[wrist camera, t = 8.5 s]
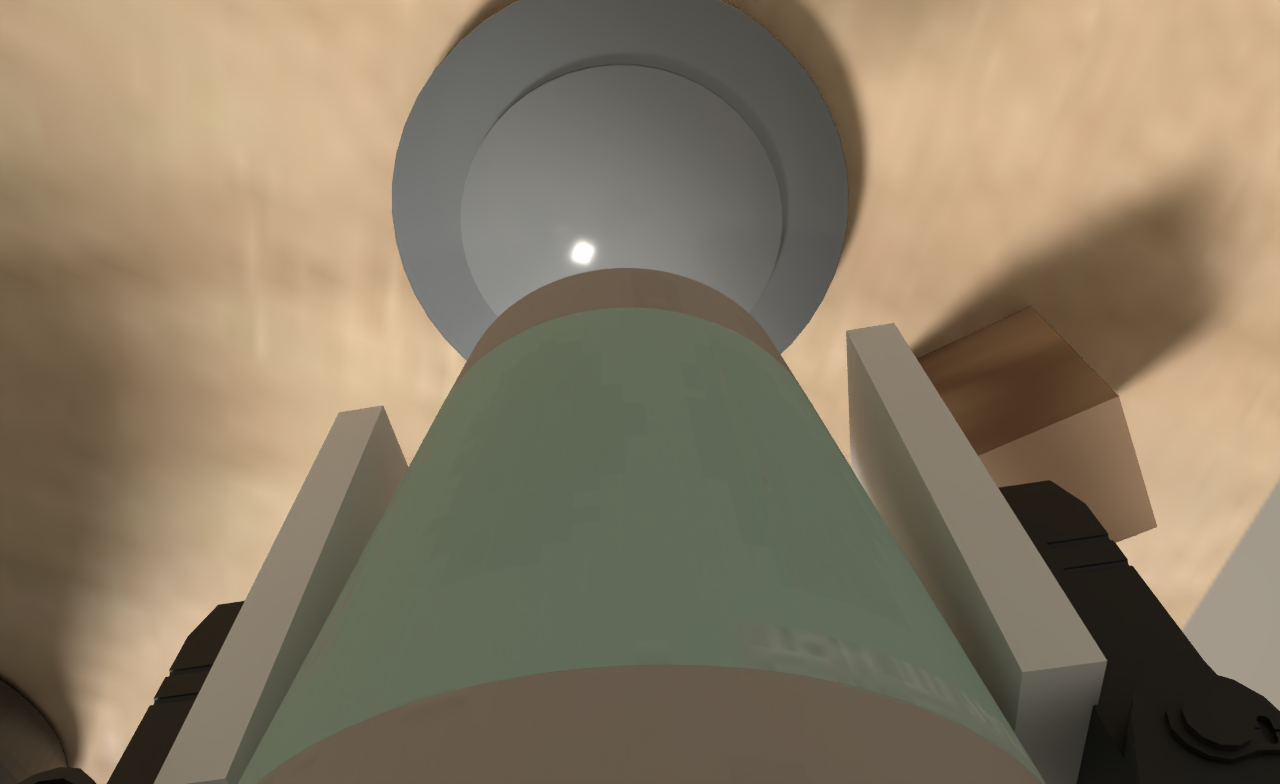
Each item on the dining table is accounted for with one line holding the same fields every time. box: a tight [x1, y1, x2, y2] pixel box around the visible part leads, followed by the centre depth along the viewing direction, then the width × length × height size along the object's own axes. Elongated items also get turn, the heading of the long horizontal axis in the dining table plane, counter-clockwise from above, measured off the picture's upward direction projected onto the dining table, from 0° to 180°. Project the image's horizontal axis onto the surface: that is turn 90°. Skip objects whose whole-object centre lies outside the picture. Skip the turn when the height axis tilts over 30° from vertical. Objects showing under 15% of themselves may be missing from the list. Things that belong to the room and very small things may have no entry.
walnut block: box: [917, 306, 1157, 543], centre depth 24 cm, size 5×5×5 cm
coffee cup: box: [238, 268, 1046, 784], centre depth 9 cm, size 8×8×12 cm
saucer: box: [392, 0, 849, 360], centre depth 22 cm, size 12×12×1 cm
